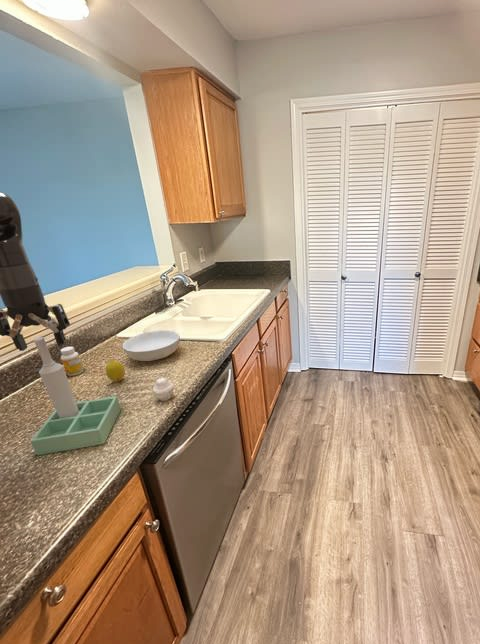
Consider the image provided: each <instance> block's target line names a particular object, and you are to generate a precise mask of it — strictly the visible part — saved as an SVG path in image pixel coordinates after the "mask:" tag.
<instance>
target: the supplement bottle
mask: <svg viewBox="0 0 480 644" xmlns="http://www.w3.org/2000/svg"><path fill="white" fill-rule="evenodd" d="M60 353H61V355H60V360H61V363H62V365H63V368H64V371H65V374H66V376H68V377H69V376H70V377H71V376H72V377H73V376H77V375H80V374H81V373H83V372H84V371H85V368H84V366H83V363H82V361H81V357H80V355H79V352H77V351H75V347H74V346H66V347H63V348H61V349H60Z"/></svg>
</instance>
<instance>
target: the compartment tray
mask: <svg viewBox="0 0 480 644" xmlns="http://www.w3.org/2000/svg"><path fill="white" fill-rule="evenodd" d="M76 404H77V407H78V410H79V411H80V412H79V414H78V415H77V416H74V417H68V418H62V419H59V416H58V414H57V411H56V409H55V410H53V412H52V413H51V415H50V416H49V417H48V418H47V420H46V421H45V422H44V423H43V424H42V426H40V429H38V430H37V432H36V433H35V434H34V436H33V437H32V438H31V440H29V443H30V444H31V446H32V448H33V451H34V453H35V456H42V455H43V456H44V455H48V454H52V453H53V454H54V453H59V452H65V451H71V450H76V449H82V448H87V447H88V448H89V447H94V446H100V445H105V443H106V441H107V439H108V437H109V435H110V433H111V431H112V429H113V427H114V425H115V422H116V421H117V418H118V416H119V414H120V412H121V410H122V407H121V404H120V401H119V398H118V396H111V397H104V398H98V399H90V400H83V401H78V402H77V401H76Z"/></svg>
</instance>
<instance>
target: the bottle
mask: <svg viewBox="0 0 480 644" xmlns="http://www.w3.org/2000/svg"><path fill="white" fill-rule="evenodd" d="M33 341H34V344H35V346H36V348H37V351H38V353H39V356H40V359H41V361H42V367H41V368H40V370H39V371H38V374H39V376H40V378H41V380H42V383H43V384H44V387H45V389H46V392H47V394H48V397H49V398H50V400H51V403H52V405H53V407H54V409H55V410H56V411H57V414H58V416H59V419H62V418H68V417H74V416H77V415H78V414H79V412H80V411H79V410H78V407H77V404H76V403H77V401H76V398H75V397H74V393H73V391H72V388H71V385H70V382H69V379H68V377H67V376H68V375H67V373H66V371H65V368H64V366H63V364H61V363H58V362H56V361H55V360H53V358H52V355H51V353H50V351H49V348H48V346H47V342H46V340H45V337H44V336H43V337H42V336H41V337H37V338H35V339H33Z"/></svg>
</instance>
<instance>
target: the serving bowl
mask: <svg viewBox="0 0 480 644" xmlns="http://www.w3.org/2000/svg"><path fill="white" fill-rule="evenodd" d="M180 343H181V335H180V333H178V332H177V331H174V330H170V329H158V330H157V329H156V330H152V331H146V332H142V333H139V334H136V335H133V336H131V337H130V338H127V339H126V340H125V341H124V342H123V343H122V350H123V352H124V353H125V354H126V356H127V357H129V358H131V359H132V360H135V361H140V362H152V361H157V360H162V359H163V358H167V357H168V356H170V355H172V354H173V353H174V352H175V351H176V350H177V349H178V348H179V346H180Z"/></svg>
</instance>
